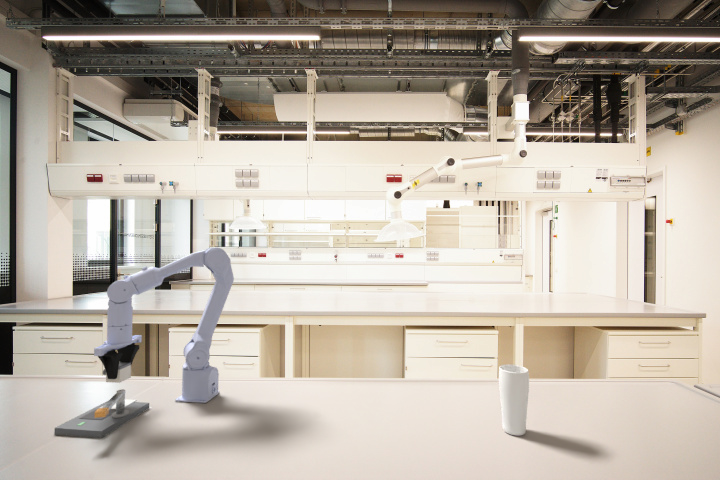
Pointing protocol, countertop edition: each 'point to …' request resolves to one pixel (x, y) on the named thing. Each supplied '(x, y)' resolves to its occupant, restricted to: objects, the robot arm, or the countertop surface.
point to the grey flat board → (100, 420)
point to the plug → (121, 373)
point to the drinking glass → (514, 398)
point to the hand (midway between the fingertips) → (118, 375)
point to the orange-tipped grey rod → (120, 404)
